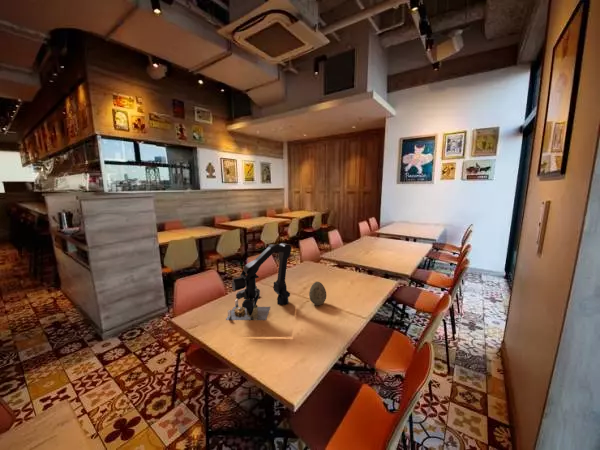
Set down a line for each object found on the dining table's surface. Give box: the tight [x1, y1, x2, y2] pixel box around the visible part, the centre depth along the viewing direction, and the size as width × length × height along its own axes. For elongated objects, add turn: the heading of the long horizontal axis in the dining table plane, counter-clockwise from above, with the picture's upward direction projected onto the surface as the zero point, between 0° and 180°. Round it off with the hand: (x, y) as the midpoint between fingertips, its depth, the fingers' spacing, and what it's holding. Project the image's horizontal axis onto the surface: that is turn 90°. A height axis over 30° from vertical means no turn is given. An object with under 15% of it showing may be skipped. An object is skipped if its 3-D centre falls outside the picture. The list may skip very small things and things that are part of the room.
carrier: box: [225, 298, 271, 321], centre depth 141 cm, size 23×15×6 cm, turn 87°
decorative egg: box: [308, 281, 327, 306], centre depth 151 cm, size 11×11×15 cm
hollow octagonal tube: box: [247, 303, 259, 316], centre depth 141 cm, size 6×6×4 cm
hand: (252, 311), depth 141 cm, fingers open, 9 cm apart
